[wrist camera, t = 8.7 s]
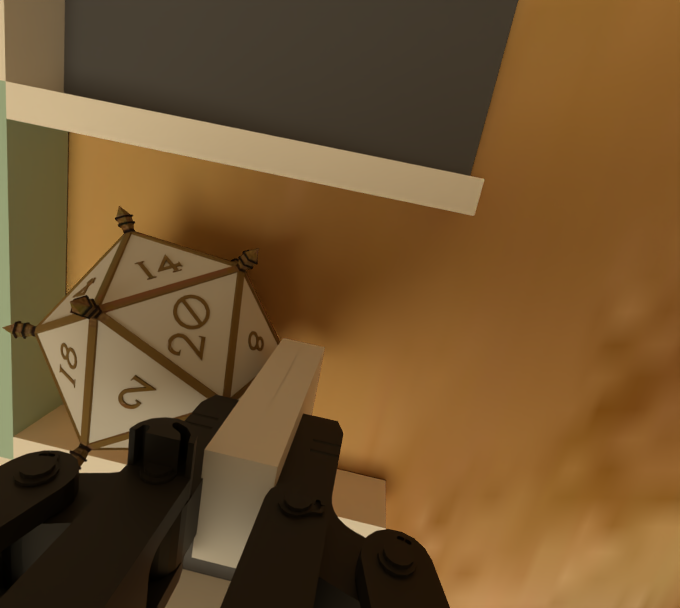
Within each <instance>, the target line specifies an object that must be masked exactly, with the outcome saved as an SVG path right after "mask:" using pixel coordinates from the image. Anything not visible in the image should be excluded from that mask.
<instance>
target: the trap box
mask: <svg viewBox="0 0 680 608" xmlns="http://www.w3.org/2000/svg"><path fill="white" fill-rule="evenodd" d="M64 32H65V0H0V466H1V465H3V464H5V463H6V462H8V461H10V460H12V459H15V458H17V457H20V456H22V455H25V454H28V453H33V452H38V451H43V450H58V451H62V452H66V453H69V451H70V450H72V451H73V450H74V449H76V448H77V447H79V444H80V442H79V440H78V437H77V435H76V432H75V430H74V428H73V425H72V423H71V420H70V418H69V416H68V413H67V411H66V408H65V406H64V404H63V401H62V399H61V397H60V394H59V392H58V389H57V387H56V385H55V382H54V380H53V377H52V375H51V373H50V370H49V368H48V365H47V363H46V361H45V358H44V356H43V353H42V351H41V349H40V346H39V344H38V341H37V339H36V337H34V336H30V337H26V339H23V337H17V338H14V336H13V335H12V334H11V333H9V332H8V331H6V330H5V329H3V328H2V327H5V326H8V325H11V324H14V323H15V322H17V321H21V323H27V322H30V324H31V325H34V326H37V325H38V324H39V323H40V322H41V321H42V320H43V319H44V317H45V316H46V315H47V314H48V313H49V312H50V311H51V310H52V309H53V308H54V307H55V306H56V305H57V304H58V303H59V302H60V301H61V300H62V299H63V297H64V296H65V295H66V241H67V183H68V132H73V133H78V134H83V135H87V136H92V137H97V138H102V139H107V140H111V141H116V142H121V143H126V144H131V145H135V146H140V147H145V148H150V149H155V150H159V151H164V152H169V153H174V154H179V155H183V156H188V157H193V158H198V159H203V160H207V161H212V162H217V163H222V164H227V165H231V166H236V167H241V168H246V169H251V170H255V171H260V172H265V173H270V174H275V175H279V176H284V177H289V178H294V179H299V180H303V181H308V182H313V183H318V184H323V185H327V186H332V187H337V188H342V189H347V190H351V191H356V192H361V193H366V194H371V195H375V196H380V197H385V198H390V199H395V200H399V201H404V202H409V203H414V204H419V205H423V206H428V207H433V208H438V209H443V210H447V211H452V212H457V213H462V214H467V215H471V216H474V215H475V212H476V208H477V204H478V201H479V197H480V194H481V190H482V187H483V183H484V180H485V179H482V178H477V177H473V176H468V175H463V174H458V173H453V172H448V171H443V170H438V169H433V168H428V167H423V166H419V165H414V164H409V163H404V162H399V161H394V160H389V159H384V158H379V157H374V156H370V155H365V154H360V153H355V152H350V151H345V150H340V149H335V148H330V147H325V146H321V145H316V144H311V143H306V142H301V141H296V140H291V139H286V138H281V137H276V136H271V135H267V134H262V133H257V132H252V131H247V130H242V129H237V128H232V127H227V126H222V125H218V124H213V123H208V122H203V121H198V120H193V119H188V118H183V117H178V116H173V115H169V114H164V113H159V112H154V111H149V110H144V109H139V108H134V107H129V106H124V105H119V104H115V103H110V102H105V101H100V100H95V99H90V98H85V97H80V96H75V95H70V94H66V93H64ZM69 454H70V453H69ZM86 459H87V461H86V462H84V463H83V464H82V465H81V470H79V473H111V472H120V471H121V470H122V469H123V468H124V467H125V466H126V465H127V460H128V450H91V451H90V452H89V453H88V456H87V458H86ZM332 505H333V509H334V512H335V513H336V515H337V516H338V518H339V519H340V520H341V521H342V522H343V523H344V524H345V525H346V526H347V527H349V528H350V529H352V530H353V531H355V532H356V533H358V534H360V535H362V536H364V537H365V538H366V537H367V536H368V535H370V534H372V533H373V532H375V531H377V530H385V529H386V481H385V480H381V479H377V478H372V477H368V476H364V475H360V474H356V473H352V472H348V471H343V470H339V469H337V472H336V477H335V483H334V488H333V494H332ZM230 582H231V581H228V580H224V579H220V578H216V577H212V576H208V575H204V574H200V573H196V572H193V571H189V570H185V569H182V573H181V576H180V580H179V582H178V584H177V586H176V588H175V589H174V591H173V593H172V595H171V597H170V599H169V601H168V603H167V605H166V606H165V608H220V607H221V604H222V602H223V599H224V597H225V594H226V592H227V589H228V587H229V584H230Z"/></svg>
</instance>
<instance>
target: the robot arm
mask: <svg viewBox="0 0 680 608" xmlns="http://www.w3.org/2000/svg"><path fill="white" fill-rule="evenodd" d="M324 350H325V347H322V346H317V345H313V344H308V343H304V342H299V341H295V340H290V339H286V338H283V339H282V340H281V342H280V343H279V345H278V346H277V347H276V349H275V350H274V352H273V353H272V355H271V356H270V357H269V359H268V360H267V362H266V363H265V364H264V366H263V367H262V369H261V370H260V372H259V373H258V374H257V376H256V377H255V379H254V380H253V382H252V383H251V384H250V386H249V387H248V389H247V390H246V391H245V393H244V394H243V396H242V397H241V399H240V400H237V399H233V398H228V397H224V396H220V395H214V396H212V397H210V398H208V399H206V400H204V401H202V402H201V403H200V404H199V405H198V406H197V407H196V408H195V409H194V411H193V412H192V414H190V415H189V416H188V417H187V419H186V420H185V421H183V420H180V419H177V418H169V417H161V418H151V419H148V420H145V421H142V422H139V423H137V424H136V425H134V426H133V427H131V428H130V429H129V444H128V460H127V465H126V466H125V467H124V468H123V469H122V470H121V471H120V472H111V473H79V465H78V460H77V459H76V458H75V457H74V456H72V455H71V454H69V453H66V452H62V451H58V450H43V451H38V452H33V453H28V454H25V455H22V456H20V457H17V458H15V459H12V460H10V461H8V462H6V463H5V464H3V465H1V466H0V608H165V606H166V605H167V603H168V601H169V599H170V597H171V595H172V593H173V591H174V589H175V588H176V586H177V584H178V582H179V580H180V576H181V573H182V569H183V560H184V556H185V554H186V552H187V550H188V549H189V547H190V545H191V543H192V541H193V540H194V542H193V550H192V558H196V559H200V560H204V561H208V562H212V563H216V564H220V565H224V566H228V567H232V568H236V570H235V572H234V575H233V577H232V580H231V582H230V584H229V587H228V589H227V592H226V594H225V597H224V599H223V602H222V604H221V607H220V608H450V607H449V604H448V601H447V599H446V596H445V593H444V591H443V588H442V586H441V583H440V580H439V578H438V575H437V572H436V570H435V567H434V564H433V562H432V560H431V558H430V556H429V555H428V553H427V551H426V549H425V548H424V547H423V546H422V545H421V544H420V543H418V542H417V541H416V540H415V539H414V538H412V537H410V536H408V535H406V534H405V533H403V532H400V531H395V530H390V529H386V530H377V531H375V532H373V533H372V534H370V535H368V536H367V537H366V538H365V537H364V536H362V535H360V534H358V533H356V532H355V531H353V530H352V529H350V528H349V527H347V526H346V525H345V524H344V523H343V522H342V521H341V520H340V519H339V518H338V516H337V515H336V513H335V512H334V509H333V505H332V494H333V488H334V483H335V477H336V472H337V466H338V460H339V455H340V449H341V444H342V438H343V432H342V429H341V427H340V425H339V423H338V421H334V420H329V419H325V418H321V417H316V416H312V411H313V406H314V401H315V396H316V390H317V385H318V380H319V375H320V370H321V365H322V360H323V355H324Z"/></svg>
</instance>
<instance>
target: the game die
mask: <svg viewBox="0 0 680 608" xmlns="http://www.w3.org/2000/svg"><path fill="white" fill-rule="evenodd" d="M132 216H133V215H130V214H129V213H128V212H126V211H125V210H124V209H123V208H121V207H120V206H119V209H118V213H117V217H116V218H115V220H117V221H118V223H119V224H118V226H119V227H120V228H122V230H123V231H124V234H123V235H122V236H121V237H120V238H119V239H118V241H117V242H116V243H115V244H114V245H113V246H112V247H111V248H110V249H109V250H108V251H107V252H106V253H105V254H104V255H103V256H102V257H101V258H100V259H99V261H98V262H97V263H96V264H95V265H94V266H93V267H92V268H91V269H90V270H89V271H88V272H87V273H86V274H85V275H84V276H83V277H82V278H81V280H80V281H79V282H78V283H77V284H76V285H75V286H74V287H73V288H72V289H71V290H70V291H69V292H68V293H67V294H66V295H65V296H64V297H63V299H62V300H61V301H60V302H59V303H58V304H57V305H56V306H55V307H54V308H53V309H52V310H51V311H50V312H49V313H48V314H47V315H46V316H45V317H44V319H43V320H42V321H41V322H40V323H39V324H38V325H37V326H34V325H31V324H30V322H27V323H21V321H17V322H15V323H14V324H11V325H8V326H5V327H2V328H3V329H5V330H6V331H8V332H9V333H11V334H12V335H13V336H14V338H17V337H23V339H26V337H30V336H34V337H36V339H37V341H38V344H39V346H40V349H41V351H42V353H43V356H44V358H45V361H46V363H47V365H48V368H49V370H50V373H51V375H52V377H53V380H54V382H55V385H56V387H57V389H58V392H59V394H60V397H61V399H62V401H63V404H64V406H65V408H66V411H67V413H68V416H69V418H70V420H71V423H72V425H73V428H74V430H75V432H76V435H77V437H78V440H79V442H80V444H79V447H77V448H76V449H74V450H73V451H72V450H70V451H69V453H70V454H71V455H72V456H74V457H75V458H76V459H77V460H78V465H79V470H81V465H82V464H83V463H84V462H86V461H87V459H86V458H87V456H88V453H89V452H90V451H91V450H128V444H129V429H130V428H131V427H133V426H134V425H136V424H137V423H139V422H142V421H145V420H148V419H151V418H161V417H169V418H177V419H180V420H183V421H185V420H186V419H187V417H188V416H189V415H190V414H192V412H193V411H194V409H195V408H196V407H197V406H198V405H199V404H200V403H201V402H202V401H204V400H206V399H208V398H210V397H212V396H214V395H220V396H224V397H228V398H233V399H237V400H240V399H241V397H242V396H243V394H244V393H245V391H246V390H247V389H248V387H249V386H250V384H251V383H252V382H253V380H254V379H255V377H256V376H257V374H258V373H259V372H260V370H261V369H262V367H263V366H264V364H265V363H266V362H267V360H268V359H269V357H270V356H271V355H272V353H273V352H274V350H275V349H276V347H277V346H278V345H279V343H280V341H279V339H278V337H277V335H276V333H275V331H274V328H273V326H272V324H271V322H270V320H269V318H268V316H267V314H266V312H265V310H264V308H263V306H262V304H261V302H260V300H259V298H258V295H257V293H256V291H255V289H254V287H253V285H252V283H251V281H250V279H249V277H248V275H247V273H246V270H247V269H249V268H250V269H252V268H253V265H254V264H258V260H257V256H258V250H259V248H258V249H254V250H251V251H249V250H247V251H243V252H242V253H243V255H242V256H239V259H237V258H236V259H233V260H231V261H228V260H225V259H222V258H218V257H215V256H212V255H209V254H206V253H203V252H199V251H196V250H193V249H190V248H187V247H183V246H180V245H177V244H174V243H171V242H168V241H164V240H161V239H158V238H155V237H152V236H148V235H145V234H142V233H139V232H136V231H135V230H134V223H135V221H133V220H132Z"/></svg>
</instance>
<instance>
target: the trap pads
mask: <svg viewBox="0 0 680 608" xmlns="http://www.w3.org/2000/svg"><path fill="white" fill-rule="evenodd" d="M517 3H518V0H65V32H64V93H66V94H70V95H75V96H80V97H85V98H90V99H95V100H100V101H105V102H110V103H115V104H119V105H124V106H129V107H134V108H139V109H144V110H149V111H154V112H159V113H164V114H169V115H173V116H178V117H183V118H188V119H193V120H198V121H203V122H208V123H213V124H218V125H222V126H227V127H232V128H237V129H242V130H247V131H252V132H257V133H262V134H267V135H271V136H276V137H281V138H286V139H291V140H296V141H301V142H306V143H311V144H316V145H321V146H325V147H330V148H335V149H340V150H345V151H350V152H355V153H360V154H365V155H370V156H374V157H379V158H384V159H389V160H394V161H399V162H404V163H409V164H414V165H419V166H423V167H428V168H433V169H438V170H443V171H448V172H453V173H458V174H463V175H468V176H470V175H471V171H472V167H473V164H474V160H475V156H476V153H477V149H478V145H479V142H480V138H481V134H482V131H483V127H484V124H485V120H486V116H487V113H488V109H489V105H490V102H491V98H492V94H493V91H494V87H495V83H496V80H497V76H498V72H499V69H500V65H501V61H502V58H503V54H504V50H505V47H506V43H507V39H508V36H509V32H510V28H511V25H512V21H513V17H514V14H515V10H516V6H517ZM193 542H194V540H193V541H192V543H191V545H190V547H189V549H188V550H187V552H186V554H185V556H184V560H183V569H185V570H189V571H193V572H196V573H200V574H204V575H208V576H212V577H216V578H220V579H224V580H228V581H231V580H232V577H233V575H234V572H235V570H236V568H232V567H228V566H224V565H220V564H216V563H212V562H208V561H204V560H200V559H196V558H192V550H193Z"/></svg>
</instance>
